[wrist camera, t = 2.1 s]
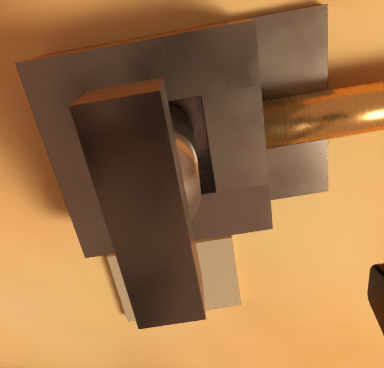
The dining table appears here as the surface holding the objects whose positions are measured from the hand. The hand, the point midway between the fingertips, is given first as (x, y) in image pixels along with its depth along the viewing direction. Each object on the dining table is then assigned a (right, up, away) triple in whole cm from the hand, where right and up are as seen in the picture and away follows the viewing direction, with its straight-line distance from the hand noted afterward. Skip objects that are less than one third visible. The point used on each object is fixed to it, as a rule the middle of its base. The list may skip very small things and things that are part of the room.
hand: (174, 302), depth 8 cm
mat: (-1, -3, +16) cm, 16 cm away
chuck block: (+4, +6, +12) cm, 14 cm away
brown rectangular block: (-1, +5, +11) cm, 13 cm away
